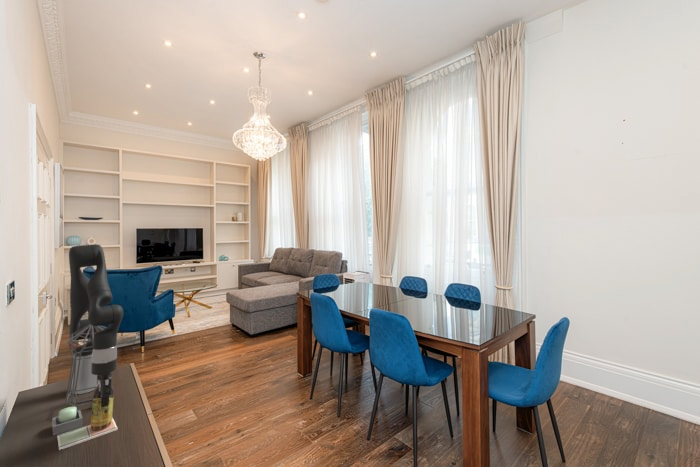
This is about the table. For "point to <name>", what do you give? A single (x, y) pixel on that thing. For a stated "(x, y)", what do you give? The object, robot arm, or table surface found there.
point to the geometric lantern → (73, 366)
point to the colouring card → (83, 435)
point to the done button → (67, 414)
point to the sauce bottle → (101, 410)
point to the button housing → (66, 424)
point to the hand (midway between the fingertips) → (103, 401)
